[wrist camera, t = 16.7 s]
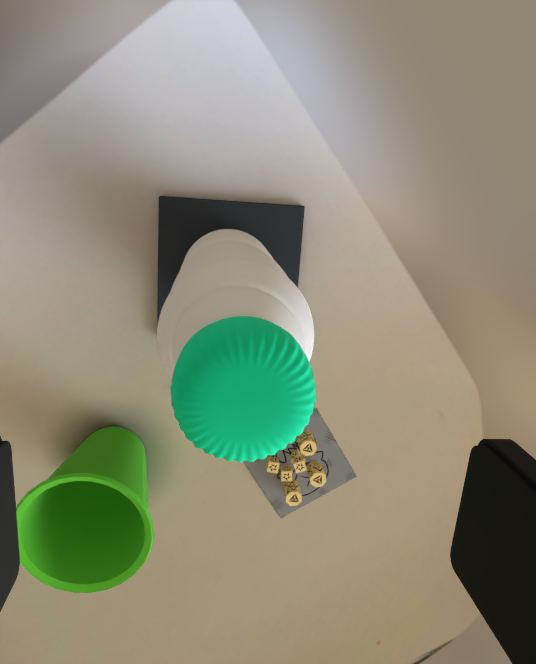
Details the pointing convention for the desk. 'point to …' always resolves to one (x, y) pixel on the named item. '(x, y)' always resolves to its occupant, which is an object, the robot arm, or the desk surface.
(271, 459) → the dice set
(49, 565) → the cup
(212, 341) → the water bottle
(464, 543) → the robot arm
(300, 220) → the mat
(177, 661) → the desk surface
